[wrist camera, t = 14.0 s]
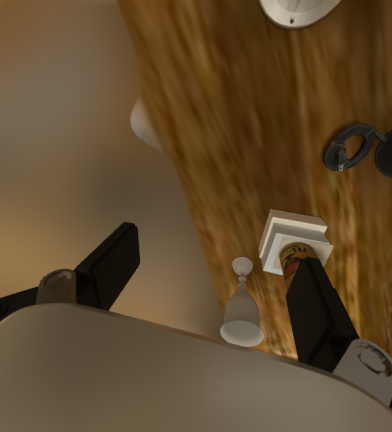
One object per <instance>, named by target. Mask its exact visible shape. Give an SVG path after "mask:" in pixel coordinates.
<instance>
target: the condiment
mask: <svg viewBox="0 0 392 432" xmlns="http://www.w3.org/2000/svg"><path fill="white" fill-rule="evenodd" d="M333 247H334V246H333V245H327V244H321V243H315V242H311V241H306V240H300V239H294V238H288V237H283V238H282V241H281V244H280V247H279V250H278V253H277V256H276V259H275V263H274V266H273V268H274V269H280V270H282V271H283V277H284V280H285V284H286V289H287V291H288V289H289V286H290V284H291V282H292V279H293V277H294V275H295V272H296V270H297V268H298V265H299V263H300V261H301V259H302V258H303V259H305V257H307V256H308V257H313V258H318V259H319V260H320V261H321V263H322V265H323V267H324V265H325V263H326V261H327V258H328V257H329V255H330V252H331V251H332V249H333Z"/></svg>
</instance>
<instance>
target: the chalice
mask: <svg viewBox="0 0 392 432" xmlns="http://www.w3.org/2000/svg"><path fill="white" fill-rule="evenodd" d="M232 267H233V269H234V271H235V272H236V274H238V275H239V276H240V277H239V278H238V280H239V281H240V283H239V284H238V286H239V287H240V289H239V290H237V291H236V292H235V293H234V294H233V296H232V297H231V298H230V300H229V301H228V303H227V305H226V309H225V320H224V324H223V326H222V327H221V330H220V332H221V335H222V337H223V338H224V339H225V340H226V341H228V342H229V343H232V344H236V345H240V346H243V347H250V346H255V345H257V344H259V343H260V342H262V340H263V338H264V333H263V331H262V330H261V328H260V321H259V309H258V307H257V305H256V303H255V301H254V299H253V298H252V296H251V295H250V294H249V292H248V291H247V290H245V287H246V284H245V283H244V282H245V281H246V278H245V276H246V275H248V274H249V273H250V271H251V270H252V268H253V263H252V261H251V260H249V259H248V258H245V257H239V258H236V259H235V260H234V261H233V262H232Z"/></svg>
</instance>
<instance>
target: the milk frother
mask: <svg viewBox="0 0 392 432" xmlns="http://www.w3.org/2000/svg"><path fill="white" fill-rule="evenodd" d="M356 134H362V135H363V136H364V137H365V143H364V146H363V148H362V150H361V151H360V152H359V154H358V155H357V156H356V157H355V158H353V159H352V160H351V161H349V160H348V159H347V157H346V153H345V151H346V149H345V148H344V145H345V144H344V141H345V140H346V139H347V138H349V137H350V136H352V135H356ZM375 135H376V136H377V137H378V138H379V139H380V140H381V142H380V144H379V146H378V148H377V150H376V155H375V163H376V166H377V168H378V169H379V171H380V172H382V173H383V174H384V175H386V176H390V177H392V131H390V132H389V133H388V134H387V135H386V136H385V137H384V136H383V135H382V134H381V133H379V132H378V131H377V130H376V129H374V128H373V127H371V126H369V125H367V124H356V125H353V126H350V127H348V128H346V129H345V130H343V131H342V132H341V133H340V134H338V135H337V136H336V138H335V139H334V140H333V141H332V142H331V143H330V145H329V146H328V148H327V150H326V152H325V155H324V163H325V165H326V166H327V168H329V169H330V170H333V171H343V170H346V169H349V168H351V167H353V166H355V165H357V164H358V163H360V162H361V161H362V160H363V159H364V157H366V155H367V154H368V153H369V152H370V150H371V148H372V146H373V143H374V139H375Z"/></svg>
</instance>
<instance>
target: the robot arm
mask: <svg viewBox="0 0 392 432" xmlns="http://www.w3.org/2000/svg"><path fill="white" fill-rule="evenodd" d="M340 1H341V0H259V4H260V6H261V8H262V10H263V13H264V14H265V15H266V17H267V18H268V19H269V20H270V21H271V22H272V23H274V24H275V25H276V26H279V27H281V28H284V29H290V30H294V29H302V28H305V27H308V26H311V25H312V24H314V23H316V22H318V21H320V20H321V19H322V18H324V17H325V16H326V15H328V14H329V13H330V12H331V11H332V10H333V9H334V8H335V7H336V6H337V4H338V3H339V2H340ZM291 20H293V23H292V24H290V21H291ZM139 264H140V254H139V241H138V229H137V227H136V226H135V224H134V223H129V222H124V223H122V224H121V225H120V226H119V227H118V228H117V229H116V230H115V231H114V232H113V233H112V234H111V235H110V236H109V237H108V238H107V239H105V240H104V241H103V242H102V243H101V244H100V245H99V246H98V247H97V248H96V249H95V250H94V251H93V252H92V253H91V254H90V255H89V256H87V257H86V258H85V259H84V260H83V261H82V262H81V263H80V264H79V265H78V266H77V267H76V268H75V269H74V270H70V269H59V270H55V271H53V272H51V273H49V274H47V275H46V276H44V277H43V279H42V280H41V281H40V283H39V286H38V287H35V288H31V289H28V290H25V291H21V292H18V293H15V294H12V295H8V296H5V297H2V298H0V432H392V358H391V357H390V356H389V355H388V354H387V353H386V352H385V351H384V350H382V349H381V348H380V347H378V346H377V345H375V344H374V343H372V342H369V341H367V340H363V339H360V338H359V336H358V334H357V332H356V330H355V328H354V326H353V324H352V322H351V320H350V317H349V315H348V313H347V311H346V309H345V307H344V305H343V303H342V301H341V299H340V297H339V295H338V293H337V291H336V289H335V288H333V286H332V284H331V282H330V280H329V278H328V276H327V274H326V272H325V270H324V268H323V265H322V263H321V261H320V260H319V259H318V258H313V257H308V256H307V257H305V259H303V258H302V259H301V261H300V263H299V265H298V268H297V270H296V272H295V275H294V277H293V279H292V282H291V284H290V286H289V289H288V291H287V294H286V301H287V306H288V311H289V316H290V321H291V326H292V331H293V336H294V341H295V345H296V350H297V355H298V360H299V362H297V361H293V360H290V359H287V358H283V357H280V356H276V355H273V354H269V353H265V352H262V351H258V350H254V349H251V348H247V347H243V346H240V345H236V344H232V343H229V342H225V341H221V340H217V339H214V338H210V337H206V336H203V335H199V334H195V333H191V332H188V331H184V330H180V329H176V328H172V327H169V326H165V325H161V324H157V323H153V322H150V321H145V320H142V319H138V318H134V317H130V316H126V315H123V314H119V313H114V312H111V311H109V309H110V308H111V306H112V305H113V303H114V302H115V300H116V299H117V297H118V296H119V294H120V293H121V292H122V290H123V289H124V287H125V285H126V284H127V283H128V281H129V280H130V278H131V277H132V275H133V274H134V272H135V271H136V269H137V268H138V266H139Z"/></svg>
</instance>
